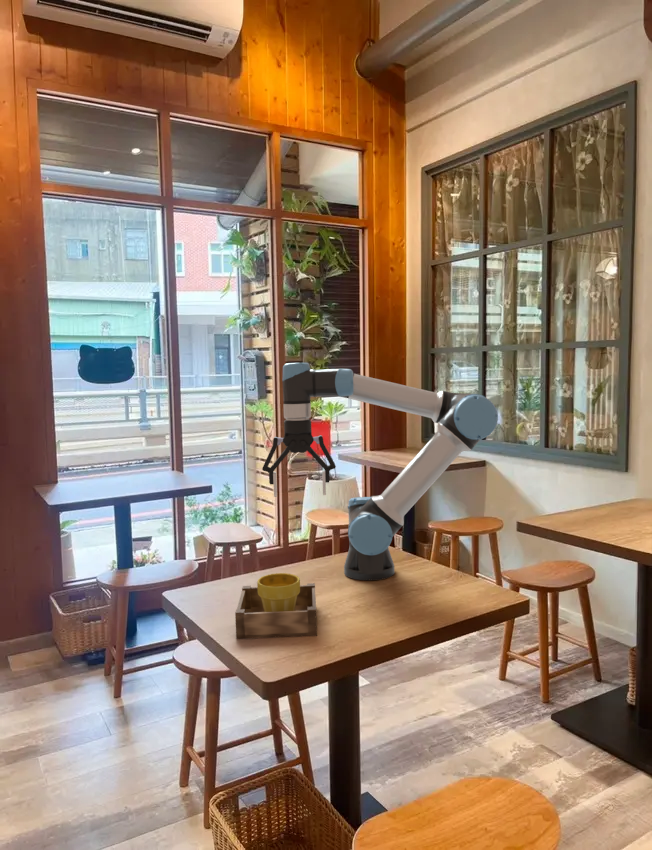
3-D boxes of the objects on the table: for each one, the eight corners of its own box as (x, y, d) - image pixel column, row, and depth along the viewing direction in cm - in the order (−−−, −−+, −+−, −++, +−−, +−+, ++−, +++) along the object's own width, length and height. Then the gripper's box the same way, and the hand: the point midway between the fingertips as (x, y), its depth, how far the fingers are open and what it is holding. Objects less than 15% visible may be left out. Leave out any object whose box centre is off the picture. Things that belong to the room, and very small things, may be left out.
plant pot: (294, 627, 152) (293, 587, 151) (253, 625, 154) (251, 585, 153) (305, 611, 162) (304, 573, 161) (266, 609, 164) (264, 572, 163)
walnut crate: (315, 606, 168) (314, 583, 167) (317, 635, 149) (316, 609, 148) (243, 609, 167) (242, 586, 166) (236, 638, 148) (235, 612, 148)
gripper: (341, 416, 182) (343, 491, 183) (253, 419, 181) (256, 494, 183) (343, 418, 174) (345, 496, 176) (251, 421, 173) (254, 499, 175)
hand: (299, 495), depth 179 cm, fingers open, 13 cm apart
